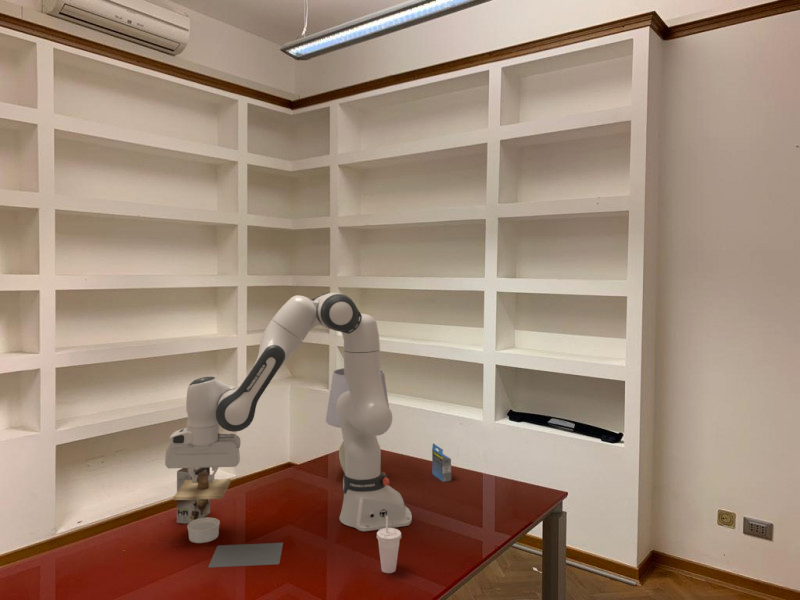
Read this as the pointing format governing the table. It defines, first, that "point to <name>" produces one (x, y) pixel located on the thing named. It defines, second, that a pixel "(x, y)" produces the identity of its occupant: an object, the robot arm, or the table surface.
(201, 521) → the ramekin
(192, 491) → the lid
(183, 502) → the coffee box
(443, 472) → the label tape box
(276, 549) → the mat
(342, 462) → the lamp
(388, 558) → the smoothie
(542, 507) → the table surface
